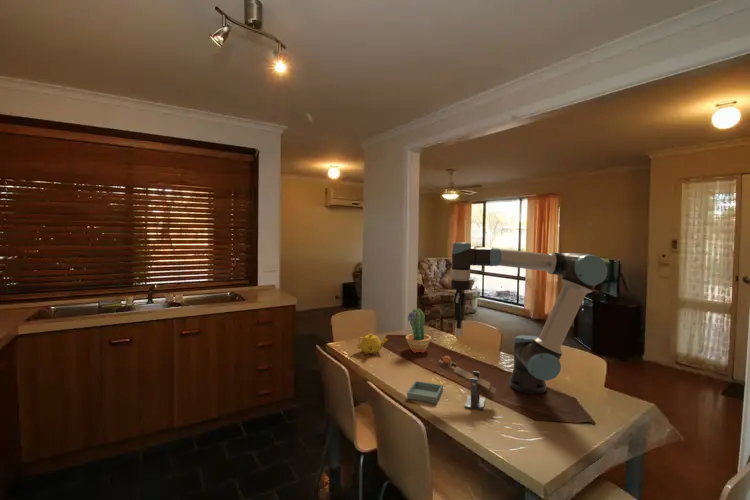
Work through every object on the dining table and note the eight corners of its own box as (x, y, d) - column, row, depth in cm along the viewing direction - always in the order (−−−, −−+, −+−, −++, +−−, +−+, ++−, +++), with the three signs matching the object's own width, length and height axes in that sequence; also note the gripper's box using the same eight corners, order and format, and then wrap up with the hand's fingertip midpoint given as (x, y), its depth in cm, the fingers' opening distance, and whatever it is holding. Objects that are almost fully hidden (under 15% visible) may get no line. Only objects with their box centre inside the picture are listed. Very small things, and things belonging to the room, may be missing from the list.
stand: (485, 399, 146) (485, 371, 145) (482, 411, 136) (482, 381, 136) (468, 396, 148) (468, 369, 148) (464, 407, 139) (464, 378, 138)
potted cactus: (403, 346, 215) (403, 306, 213) (427, 345, 216) (427, 305, 215) (408, 355, 199) (408, 312, 198) (434, 354, 201) (434, 311, 200)
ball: (451, 363, 147) (451, 355, 147) (449, 366, 144) (450, 358, 144) (443, 361, 148) (443, 353, 148) (441, 364, 145) (441, 356, 145)
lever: (493, 394, 142) (497, 383, 141) (492, 400, 137) (496, 389, 136) (437, 366, 151) (441, 356, 150) (434, 371, 145) (438, 360, 144)
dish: (442, 391, 154) (442, 385, 154) (436, 404, 142) (436, 397, 142) (415, 386, 159) (415, 380, 159) (407, 398, 147) (407, 392, 147)
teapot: (370, 358, 195) (370, 339, 194) (354, 353, 204) (354, 334, 204) (388, 352, 205) (388, 333, 204) (372, 347, 214) (372, 329, 214)
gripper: (454, 277, 152) (453, 330, 153) (448, 280, 140) (446, 338, 141) (472, 278, 149) (470, 332, 150) (466, 282, 137) (465, 340, 138)
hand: (459, 335), depth 146 cm, fingers closed
